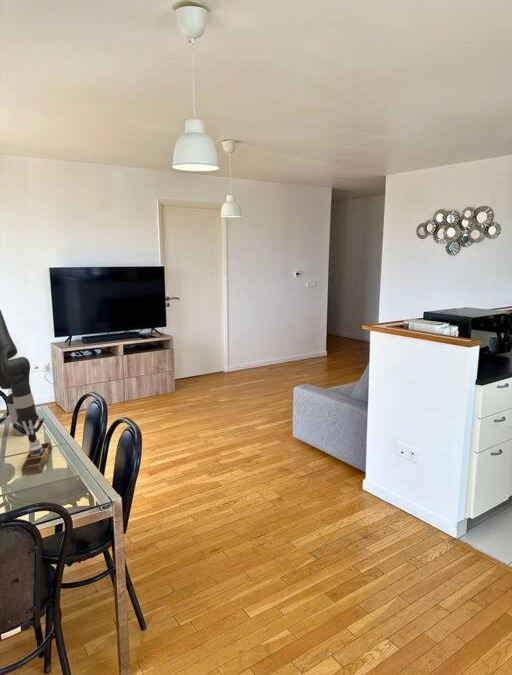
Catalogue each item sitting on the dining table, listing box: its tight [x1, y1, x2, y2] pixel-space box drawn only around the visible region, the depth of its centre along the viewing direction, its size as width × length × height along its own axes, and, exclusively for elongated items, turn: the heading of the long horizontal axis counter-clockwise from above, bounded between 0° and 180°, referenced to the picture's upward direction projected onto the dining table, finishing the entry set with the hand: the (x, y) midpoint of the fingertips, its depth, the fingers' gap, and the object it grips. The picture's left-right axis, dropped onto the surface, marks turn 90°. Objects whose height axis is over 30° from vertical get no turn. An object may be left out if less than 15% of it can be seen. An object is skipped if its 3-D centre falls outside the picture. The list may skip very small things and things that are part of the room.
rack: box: [20, 441, 53, 477], centre depth 202 cm, size 21×8×4 cm, turn 11°
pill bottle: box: [28, 438, 44, 458], centre depth 201 cm, size 5×5×9 cm
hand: (33, 441), depth 200 cm, fingers closed
